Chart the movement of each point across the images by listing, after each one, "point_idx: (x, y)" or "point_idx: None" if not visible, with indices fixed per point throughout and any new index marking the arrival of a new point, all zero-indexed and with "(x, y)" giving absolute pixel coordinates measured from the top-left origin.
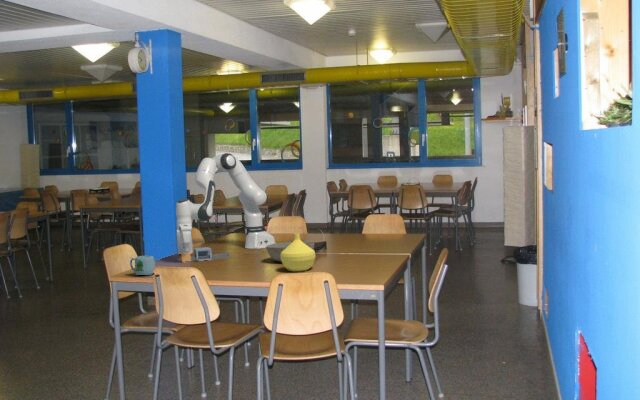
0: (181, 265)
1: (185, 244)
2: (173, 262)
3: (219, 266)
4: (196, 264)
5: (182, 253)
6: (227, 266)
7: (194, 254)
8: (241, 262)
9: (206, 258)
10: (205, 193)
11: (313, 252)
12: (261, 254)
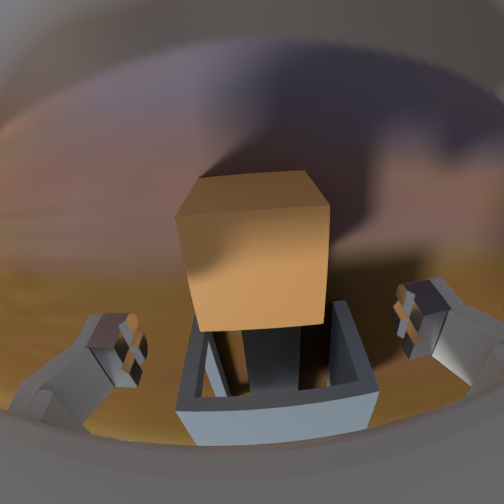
0: (25, 184)
1: (21, 402)
2: (269, 65)
3: (8, 377)
4: (51, 302)
5: (284, 224)
6: (13, 395)
7: (349, 337)
8: None
9: (219, 388)
10: None
11: None
12: None
